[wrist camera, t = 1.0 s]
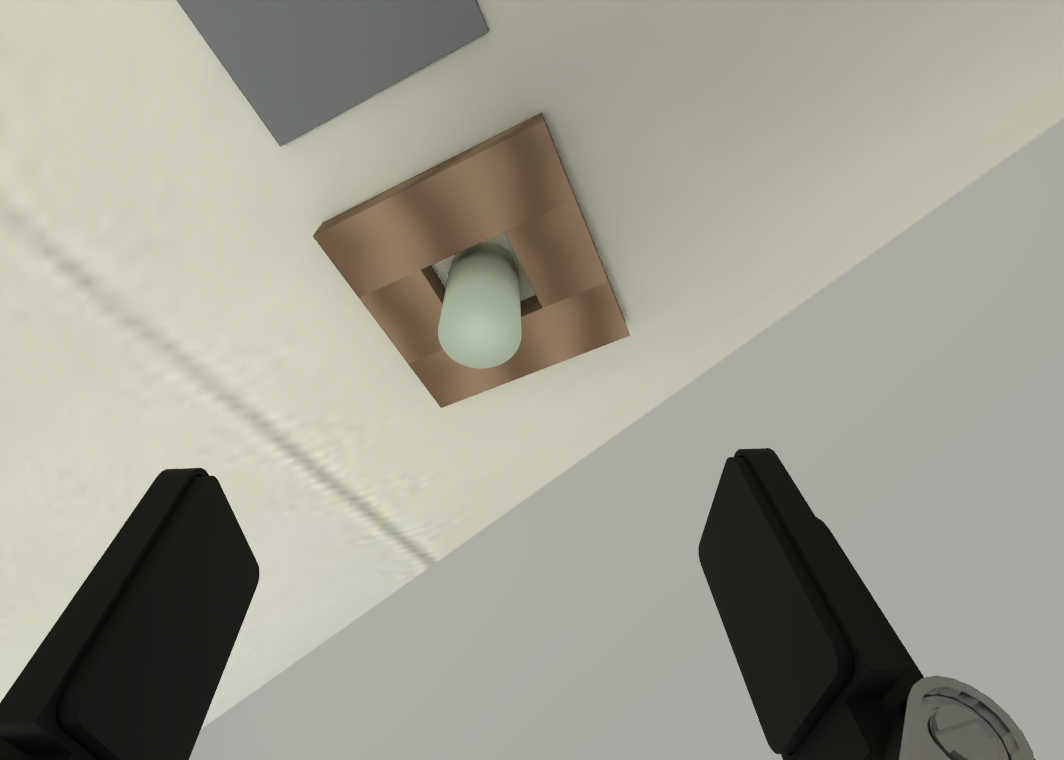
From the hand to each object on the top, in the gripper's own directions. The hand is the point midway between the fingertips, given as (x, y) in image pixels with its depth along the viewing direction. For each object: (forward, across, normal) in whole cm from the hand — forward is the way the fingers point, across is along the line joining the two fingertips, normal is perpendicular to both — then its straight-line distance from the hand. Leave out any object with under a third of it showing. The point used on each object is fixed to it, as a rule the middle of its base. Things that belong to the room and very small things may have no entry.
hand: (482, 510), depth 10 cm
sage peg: (+29, 0, +8) cm, 30 cm away
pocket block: (+29, 0, +8) cm, 30 cm away
